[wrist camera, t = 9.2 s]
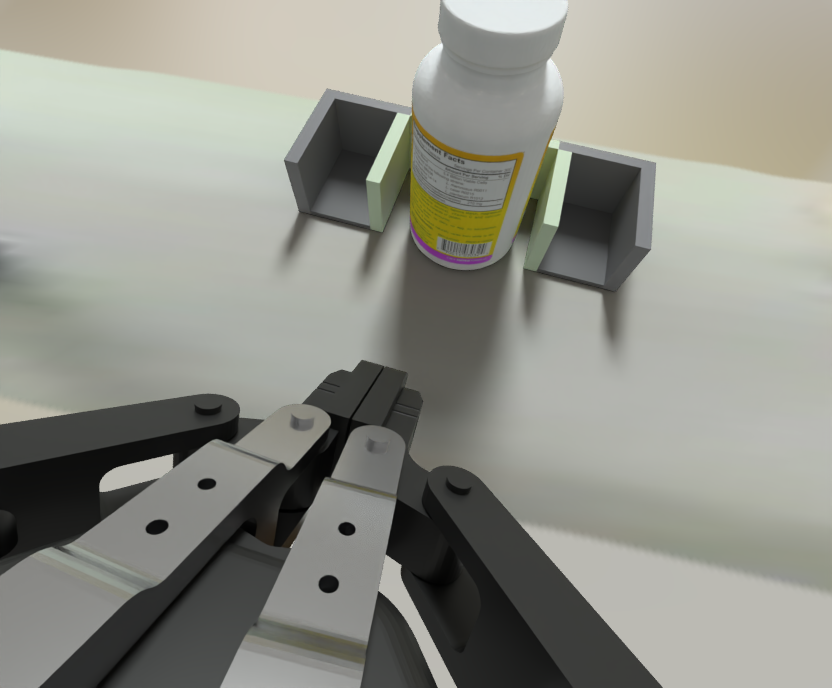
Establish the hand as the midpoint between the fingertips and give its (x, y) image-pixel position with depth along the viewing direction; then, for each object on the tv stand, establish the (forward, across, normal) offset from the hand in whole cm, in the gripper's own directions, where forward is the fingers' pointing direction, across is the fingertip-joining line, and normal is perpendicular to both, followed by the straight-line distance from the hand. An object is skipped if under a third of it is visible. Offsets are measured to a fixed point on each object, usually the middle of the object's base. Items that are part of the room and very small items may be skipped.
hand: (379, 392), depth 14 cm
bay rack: (+17, 0, -5) cm, 18 cm away
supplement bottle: (+16, 0, -4) cm, 17 cm away
